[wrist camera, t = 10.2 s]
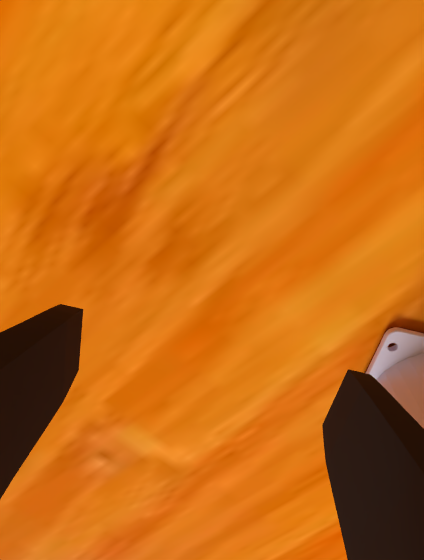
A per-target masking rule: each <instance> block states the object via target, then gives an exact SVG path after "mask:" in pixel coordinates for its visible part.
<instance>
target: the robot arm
mask: <svg viewBox="0 0 424 560" xmlns="http://www.w3.org/2000/svg"><path fill="white" fill-rule="evenodd" d="M82 317H83V309H80V308H76V307H71V306H67V305H62V304H60V305H57V306H55V307H53V308H51V309H48V310H46V311H44V312H42V313H40V314H38V315H36V316H34V317H32V318H30V319H28V320H26V321H24V322H22V323H20V324H18V325H15V326H13V327H11V328H9V329H7V330H5V331H3V332H1V333H0V499H1V497H2V496H3V494H4V492H5V491H6V489H7V487H8V486H9V484H10V482H11V481H12V479H13V478H14V476H15V474H16V473H17V471H18V470H19V468H20V467H21V465H22V464H23V462H24V461H25V459H26V458H27V456H28V455H29V453H30V452H31V450H32V449H33V447H34V446H35V444H36V443H37V441H38V440H39V438H40V437H41V435H42V434H43V432H44V431H45V429H46V428H47V426H48V424H49V423H50V421H51V420H52V418H53V417H54V415H55V414H56V412H57V411H58V409H59V407H60V406H61V404H62V403H63V401H64V399H65V397H66V395H67V393H68V391H69V389H70V387H71V385H72V383H73V380H74V378H75V376H76V374H77V372H78V370H79V357H80V343H81V330H82ZM391 343H395V345H394V346H392V347H388V345H389V344H391ZM323 438H324V449H325V459H326V465H327V470H328V474H329V479H330V483H331V488H332V492H333V497H334V501H335V505H336V510H337V514H338V519H339V523H340V527H341V532H342V536H343V540H344V545H345V549H346V554H347V559H348V560H424V333H420V332H416V331H412V330H407V329H403V328H398V327H394V328H390V329H389V330H387V331H386V333H385V334H384V336H383V338H382V340H381V343H380V345H379V347H378V349H377V351H376V353H375V355H374V357H373V359H372V361H371V363H370V365H369V367H368V369H367V371H366V373H362V372H357V371H353V370H348V371H347V373H346V375H345V377H344V379H343V382H342V384H341V386H340V388H339V390H338V392H337V395H336V397H335V399H334V401H333V403H332V405H331V408H330V410H329V412H328V414H327V416H326V418H325V421H324V423H323Z"/></svg>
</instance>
